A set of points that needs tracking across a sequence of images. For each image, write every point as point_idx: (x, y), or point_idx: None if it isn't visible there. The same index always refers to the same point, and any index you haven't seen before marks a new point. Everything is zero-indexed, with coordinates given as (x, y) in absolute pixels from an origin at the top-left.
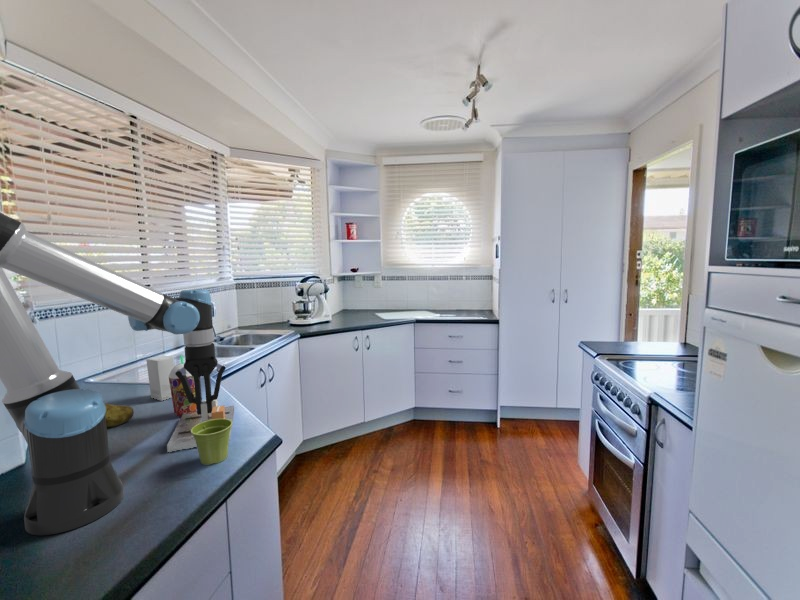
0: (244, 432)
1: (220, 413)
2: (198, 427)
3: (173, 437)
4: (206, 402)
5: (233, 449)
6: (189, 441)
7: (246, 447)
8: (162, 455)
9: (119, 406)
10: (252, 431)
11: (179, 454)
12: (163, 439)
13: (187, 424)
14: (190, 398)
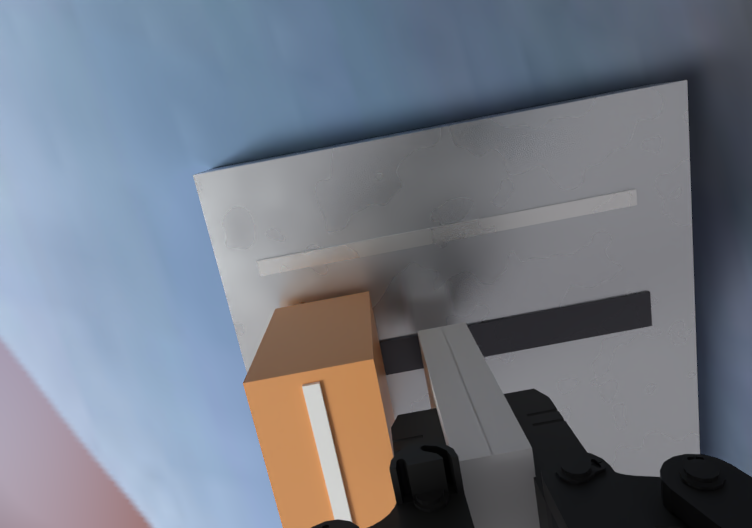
0: (145, 318)
1: (277, 367)
2: None
3: (672, 238)
4: (447, 453)
5: (127, 5)
6: (513, 116)
7: (24, 16)
8: (678, 45)
9: None
10: (83, 322)
11: (551, 28)
12: (739, 337)
13: (622, 473)
14: (737, 509)
